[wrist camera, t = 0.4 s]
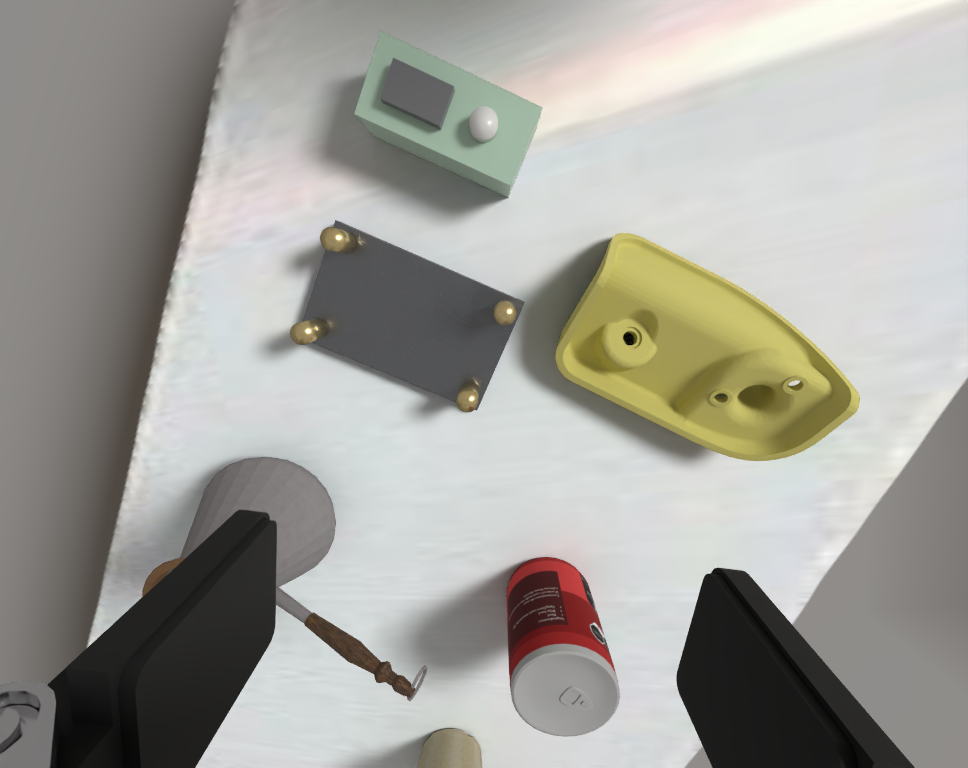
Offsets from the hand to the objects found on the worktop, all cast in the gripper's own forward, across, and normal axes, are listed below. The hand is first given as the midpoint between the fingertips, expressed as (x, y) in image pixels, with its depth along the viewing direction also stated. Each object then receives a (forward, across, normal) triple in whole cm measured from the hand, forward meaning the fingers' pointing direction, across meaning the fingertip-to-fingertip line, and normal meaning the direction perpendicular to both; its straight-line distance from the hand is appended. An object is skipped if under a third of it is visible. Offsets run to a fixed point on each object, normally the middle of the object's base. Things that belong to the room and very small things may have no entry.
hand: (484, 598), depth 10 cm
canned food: (+29, -8, +22) cm, 37 cm away
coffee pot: (+29, +12, +17) cm, 35 cm away
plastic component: (+29, -15, -2) cm, 33 cm away
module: (+28, +5, -16) cm, 33 cm away
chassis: (+28, +7, -2) cm, 29 cm away
